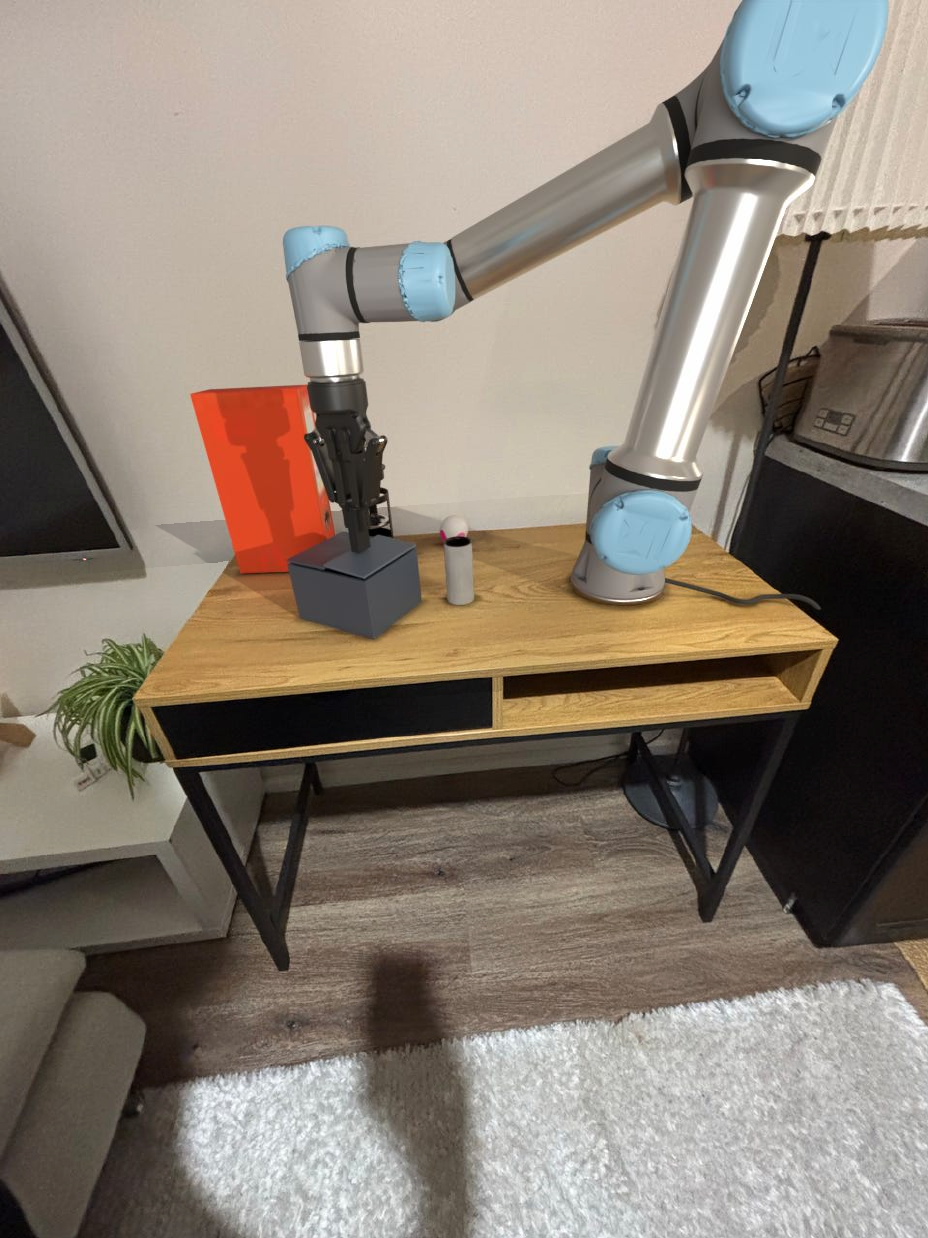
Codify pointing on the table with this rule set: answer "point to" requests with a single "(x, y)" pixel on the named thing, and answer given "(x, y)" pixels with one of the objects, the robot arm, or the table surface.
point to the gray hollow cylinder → (459, 570)
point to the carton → (353, 589)
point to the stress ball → (453, 527)
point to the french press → (381, 515)
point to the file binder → (265, 472)
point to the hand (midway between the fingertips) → (361, 549)
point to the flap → (370, 557)
